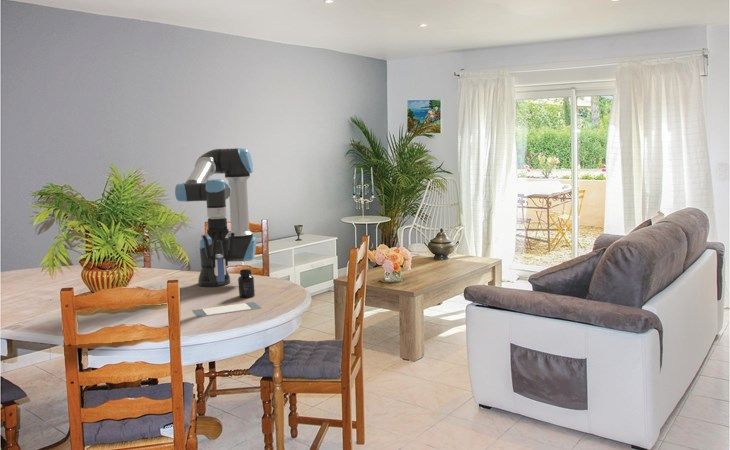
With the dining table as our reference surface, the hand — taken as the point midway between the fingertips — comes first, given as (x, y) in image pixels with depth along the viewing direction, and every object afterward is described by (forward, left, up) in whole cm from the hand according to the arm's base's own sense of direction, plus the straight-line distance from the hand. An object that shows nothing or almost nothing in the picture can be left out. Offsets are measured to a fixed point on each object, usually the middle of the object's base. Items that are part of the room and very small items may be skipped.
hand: (220, 274), depth 258 cm
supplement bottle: (-15, +14, -15) cm, 25 cm away
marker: (0, 0, -4) cm, 4 cm away
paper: (+2, +1, -14) cm, 14 cm away
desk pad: (+2, +1, -15) cm, 15 cm away
